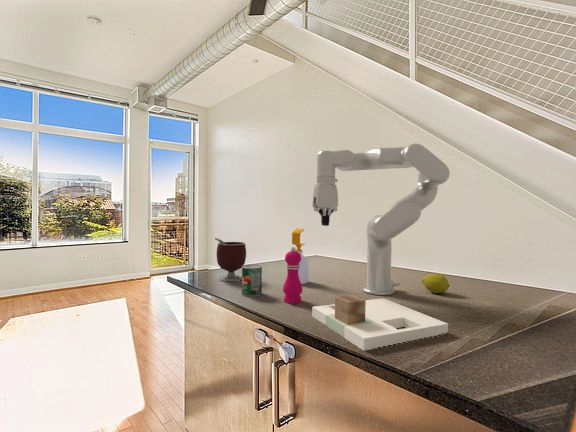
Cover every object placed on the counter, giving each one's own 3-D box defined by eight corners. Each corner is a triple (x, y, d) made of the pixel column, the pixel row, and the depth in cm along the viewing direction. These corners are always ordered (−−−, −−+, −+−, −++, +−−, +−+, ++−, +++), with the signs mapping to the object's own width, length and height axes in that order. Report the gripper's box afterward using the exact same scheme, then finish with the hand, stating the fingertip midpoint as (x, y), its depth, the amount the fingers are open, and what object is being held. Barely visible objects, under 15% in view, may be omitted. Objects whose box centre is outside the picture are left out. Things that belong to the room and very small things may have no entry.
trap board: (383, 306, 115) (383, 298, 115) (447, 334, 91) (448, 323, 91) (312, 316, 104) (312, 306, 104) (363, 350, 80) (363, 338, 79)
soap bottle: (311, 281, 153) (312, 228, 152) (301, 285, 145) (302, 230, 145) (295, 279, 158) (295, 228, 157) (284, 282, 150) (285, 229, 149)
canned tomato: (265, 293, 132) (265, 265, 131) (253, 297, 125) (254, 268, 125) (249, 290, 136) (250, 263, 135) (237, 294, 129) (237, 266, 129)
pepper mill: (300, 304, 117) (301, 248, 116) (280, 303, 118) (281, 247, 117) (303, 299, 124) (304, 246, 123) (284, 297, 125) (285, 245, 125)
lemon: (453, 294, 133) (453, 274, 133) (443, 297, 129) (444, 277, 128) (428, 288, 142) (428, 270, 142) (418, 291, 137) (418, 272, 137)
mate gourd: (236, 274, 166) (236, 235, 166) (251, 279, 156) (252, 237, 155) (208, 278, 156) (208, 236, 156) (222, 284, 146) (222, 239, 145)
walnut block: (351, 315, 97) (352, 294, 96) (365, 321, 91) (365, 300, 91) (334, 318, 94) (335, 297, 94) (347, 324, 89) (347, 302, 88)
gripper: (336, 182, 143) (336, 224, 143) (305, 181, 137) (305, 225, 137) (346, 181, 136) (345, 225, 136) (314, 179, 130) (313, 226, 130)
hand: (325, 225), depth 137 cm, fingers closed
